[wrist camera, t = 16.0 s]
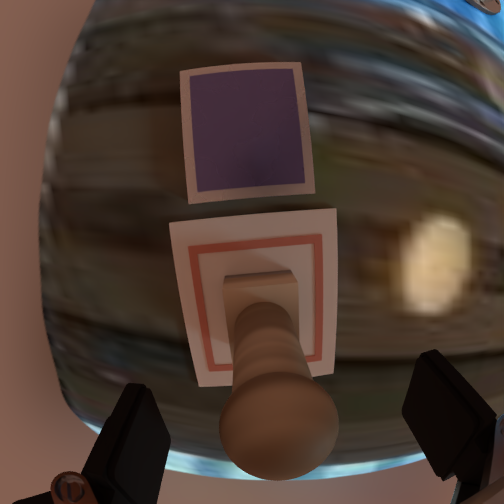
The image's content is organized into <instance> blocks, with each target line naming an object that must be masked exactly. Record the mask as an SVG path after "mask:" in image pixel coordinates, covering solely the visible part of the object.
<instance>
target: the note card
mask: <svg viewBox="0 0 504 504" xmlns="http://www.w3.org/2000/svg"><path fill="white" fill-rule="evenodd" d="M169 228H170V236H171V243H172V250H173V257H174V264H175V270H176V276H177V282H178V288H179V294H180V300H181V305H182V310H183V316H184V321H185V326H186V331H187V336H188V340H189V345H190V350H191V354H192V359H193V363H194V367H195V372H196V376H197V380H198V384H199V387H209V386H231V385H232V383H233V365H232V358H231V351H230V345H229V338H228V330H227V323H226V316H225V308H224V300H223V293H222V287H223V282H224V277H225V276H227V275H238V274H249V273H260V272H271V271H281V270H291V271H292V273H293V275H294V276H295V278H296V280H297V281H298V295H299V342H300V345H301V347H302V350H303V353H304V356H305V358H306V361H307V364H308V367H309V369H310V372H311V375H312V377H314V376H320V375H326V374H332V373H333V372H334V359H335V343H336V324H337V290H338V249H337V215H336V208H327V209H312V210H297V211H284V212H271V213H259V214H247V215H236V216H226V217H216V218H206V219H196V220H187V221H178V222H170V223H169Z"/></svg>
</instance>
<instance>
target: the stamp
mask: <svg viewBox="0 0 504 504" xmlns="http://www.w3.org/2000/svg"><path fill="white" fill-rule="evenodd" d="M222 293H223V300H224V308H225V316H226V323H227V330H228V338H229V345H230V351H231V358H232V365H233V383H232V394H231V396H230V397H229V398H228V400H227V401H226V403H225V405H224V407H223V410H222V412H221V416H220V421H219V434H220V439H221V443H222V446H223V448H224V450H225V452H226V454H227V455H228V457H229V458H230V459H231V461H232V462H233V463H234V464H235V465H236V466H237V467H239V468H240V469H242V470H243V471H244V472H246V473H248V474H250V475H252V476H255V477H257V478H261V479H266V480H274V481H280V480H289V479H294V478H297V477H300V476H302V475H305V474H307V473H309V472H310V471H312V470H314V469H315V468H316V467H318V466H319V465H320V464H321V463H322V462H323V461H324V460H325V459H326V458H327V456H328V455H329V454H330V452H331V451H332V449H333V447H334V445H335V442H336V439H337V436H338V429H339V419H338V413H337V410H336V407H335V404H334V402H333V400H332V399H331V397H330V396H329V394H328V393H327V392H326V391H325V390H324V389H323V388H322V387H321V386H320V385H319V384H317V383H316V382H315V381H313V378H312V375H311V372H310V369H309V367H308V364H307V361H306V358H305V356H304V353H303V350H302V347H301V345H300V342H299V295H298V281H297V280H296V278H295V276H294V275H293V273H292V271H291V270H281V271H271V272H260V273H249V274H238V275H227V276H225V277H224V282H223V287H222Z"/></svg>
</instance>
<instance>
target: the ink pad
mask: <svg viewBox="0 0 504 504" xmlns="http://www.w3.org/2000/svg"><path fill="white" fill-rule="evenodd" d="M180 91H181V113H182V131H183V146H184V159H185V171H186V182H187V193H188V202H189V204H195V203H204V202H213V201H223V200H233V199H244V198H256V197H268V196H282V195H297V194H314V193H315V183H314V170H313V158H312V147H311V137H310V128H309V119H308V111H307V103H306V95H305V88H304V80H303V74H302V67H301V62H263V63H244V64H231V65H221V66H212V67H204V68H197V69H190V70H184V71H180Z"/></svg>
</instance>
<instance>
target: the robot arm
mask: <svg viewBox="0 0 504 504" xmlns="http://www.w3.org/2000/svg"><path fill="white" fill-rule="evenodd" d="M466 1H467V2H468V3H470V4H471V5H472V6H474V7H475V8H477V9H478V10H480V11H482V12H484V13H486V14H489V15H495V14H497V13H499V12H500V10H501V4H500V1H499V0H466ZM402 415H403V417H404V419H405V421H406V422H407V424H408V426H409V428H410V429H411V431H412V433H413V435H414V436H415V438H416V440H417V442H418V443H419V445H420V447H421V449H422V451H423V452H424V454H425V456H426V458H427V460H428V461H429V463H430V465H431V467H432V469H433V471H434V472H435V474H436V476H438V477H441V479H442V481H445V480H447V479H449V478H451V477H453V476H454V475H456V477H457V479H458V480H457V484H456V488H455V491H454V494H453V497H452V500H451V503H450V504H504V415H502V416H501V417H499V419H498V420H496V419H495V417H496V416H497V414H496V413H495V412H494V411H493V410H492V409H491V407H490V406H489V405H488V404H487V403H486V402H485V401H484V399H483V398H482V397H481V396H480V395H479V394H478V393H477V392H476V390H475V389H474V388H473V387H472V386H471V385H470V384H469V383H468V382H467V381H466V380H465V378H464V377H463V376H462V375H461V374H460V373H459V372H458V371H457V370H456V369H455V368H454V367H453V366H452V365H451V364H450V363H449V362H448V361H447V359H446V358H445V357H444V356H443V355H442V354H441V353H440V352H439V351H438V350H436V349H433V350H430V351H427V352H423V353H421V355H420V357H419V358H418V359H417V361H416V364H415V368H414V371H413V375H412V378H411V382H410V385H409V388H408V392H407V395H406V398H405V401H404V404H403V407H402ZM170 444H171V438H170V435H169V432H168V430H167V428H166V426H165V423H164V421H163V419H162V416H161V414H160V412H159V409H158V407H157V404H156V402H155V399H154V397H153V394H152V392H151V390H150V389H149V388H146V386H145V385H144V384H136V383H128V384H127V385H126V387H125V389H124V391H123V392H122V394H121V396H120V398H119V400H118V402H117V404H116V406H115V408H114V410H113V412H112V414H111V416H110V417H108V419H107V420H106V422H105V424H104V426H103V428H102V430H101V432H100V434H99V436H98V438H97V440H96V442H95V444H94V447H93V448H92V451H91V453H90V455H89V457H88V459H87V461H86V463H85V466H84V468H83V470H82V472H81V474H79V473H77V472H73V471H67V472H63V473H60V474H58V475H57V476H56V477H55V478H54V479H53V481H52V482H51V488H50V489H51V491H49V492H45V493H43V494H39V495H36V496H33V497H29V498H26V499H21V500H18V501H16V502H14V503H12V504H157V499H158V495H159V491H160V486H161V481H162V477H163V473H164V469H165V465H166V461H167V456H168V452H169V448H170Z"/></svg>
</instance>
